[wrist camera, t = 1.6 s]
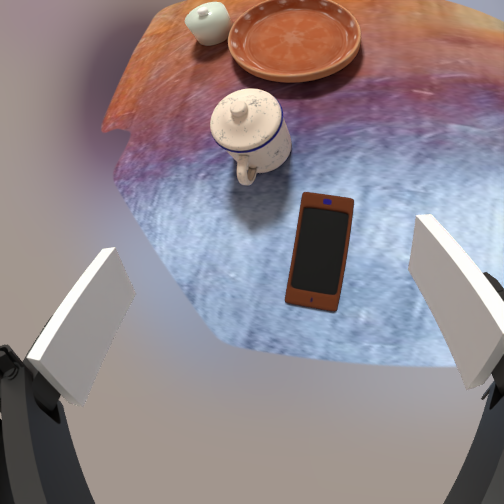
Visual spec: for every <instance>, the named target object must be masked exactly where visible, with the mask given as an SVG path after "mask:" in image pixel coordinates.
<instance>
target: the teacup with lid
mask: <svg viewBox="0 0 504 504" xmlns="http://www.w3.org/2000/svg"><path fill="white" fill-rule="evenodd" d="M210 128H211V133H212V136H213V138H214V140H215V141H216V143H217V144H218V145H219V146H220V147H222V148H223V149H225V150H226V151H227V152H228V153H229V154H230V155H231V156H232V157H233V158H234V159H235V160H236V161H237V178H238V181H239V182H240V183H241V184H242V185H251V184H252V183H253V182H254V180H255V178H256V174H257V173H265V172H269V171H272V170H274V169H276V168H278V167H279V166H280V165H282V164H283V163H284V162H285V160H286V159H287V157H288V156H289V153H290V151H291V137H290V134H289V132H288V129H287V126H286V124H285V121H284V118H283V110H282V107H281V105H280V103H279V102H278V100H277V99H276V98H275V97H274V96H272V95H271V94H269V93H268V92H265V91H263V90H259V89H243V90H239V91H236V92H234V93H232V94H230V95H228V96H227V97H225V98H224V99H223V100H222V101H221V102H220V103H219V104H218V105H217V106H216V108H215V110H214V112H213V114H212V117H211V122H210ZM247 170H248V172H247Z"/></svg>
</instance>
